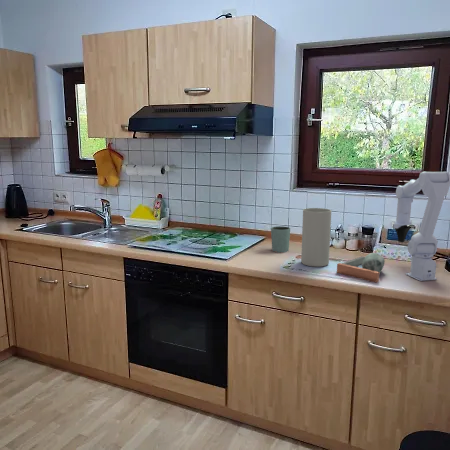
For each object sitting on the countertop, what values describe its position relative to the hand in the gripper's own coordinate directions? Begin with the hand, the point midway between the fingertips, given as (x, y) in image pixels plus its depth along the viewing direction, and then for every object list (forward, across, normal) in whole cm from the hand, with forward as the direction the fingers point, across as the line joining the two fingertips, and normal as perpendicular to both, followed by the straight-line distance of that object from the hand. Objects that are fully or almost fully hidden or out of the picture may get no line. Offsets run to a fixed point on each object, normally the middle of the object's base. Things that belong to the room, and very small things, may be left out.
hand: (401, 241), depth 191 cm
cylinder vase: (+11, +28, -27) cm, 40 cm away
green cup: (+11, +21, -54) cm, 59 cm away
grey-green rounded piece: (+11, +22, -2) cm, 25 cm away
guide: (+10, +23, -3) cm, 25 cm away
